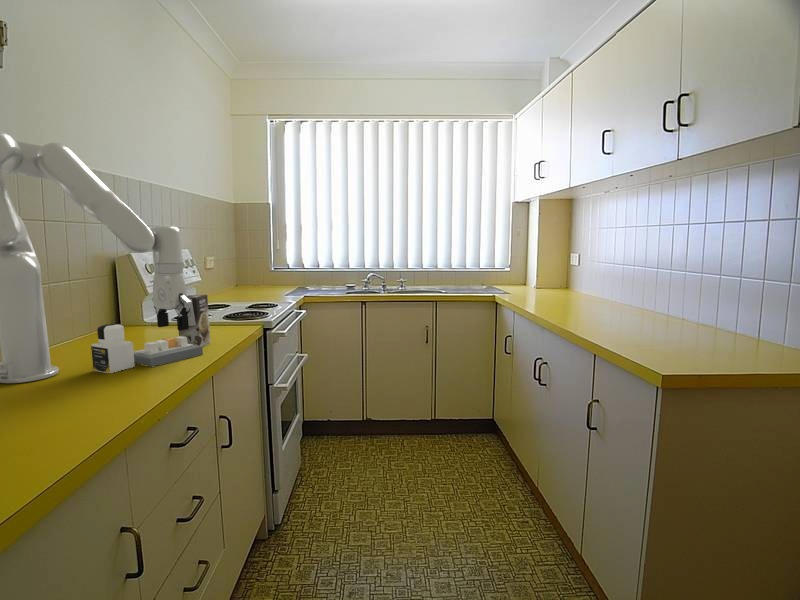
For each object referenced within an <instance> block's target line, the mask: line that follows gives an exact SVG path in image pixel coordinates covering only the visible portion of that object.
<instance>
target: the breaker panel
mask: <svg viewBox="0 0 800 600" xmlns="http://www.w3.org/2000/svg"><path fill="white" fill-rule="evenodd" d="M133 352H134V363H138V364H137V365H139V364H143V365H147V366H150V367H149V368H152V367H151V366H155V367H157V366H156V365H159V366H162V364H163V365H166V363H167V364H170V363H174V362H179V361H183V360H186V359H191V358H194V357H198V356H203V355H204V351H203V347H202V346H197V345H193V344H187V337H183V336H179V335H178V336H174V337H165V338H162V339H160V340H155V341H150V342H149V341H148V342H144V348H141V349H139V350H133ZM143 365H142V366H143ZM147 366H146V367H147Z"/></svg>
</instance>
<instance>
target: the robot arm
mask: <svg viewBox="0 0 800 600" xmlns="http://www.w3.org/2000/svg"><path fill="white" fill-rule="evenodd" d="M4 173H6V174H7V173H8V174H13V175H20V176H26V177H31V178H39V179H45V180H51V181H52V182H53V183H54V184H55V185H56V186H58V187H59V189H60V190H61V191H63V193H64V194H66V195H67V196H68V197H69V198H70V199H71V200H72V201H73V202H74V203H75V204H76V205H77V206H78V207H79V208H80V209H81V210H83V211H84V213H86V214H88V215H90V216H92V217H93V218H94V219H96V220H97V221H99V222H100V223H101V224H102V225H103V226H105V227H106V228H107V229H108V230H109V231H110V232H111V233H112V234H113V235H114V236H115V237H116V238H117V239H118V240H119V243H120V245H121V247H122V248H123V249H124V250H126V251H128V252H129V253H135V254H144V253H147V252H150V251H152V258H153V259H152V261H153V272H154V274H153V281H152V282H153V283H152V298H151V301H152V304H153V307H154V309H155V311H154V312H155V314H156V322H157V327H158V328H166V327H168V326H169V325H170V321H169V312H167V311H172V310H174V311H175V313H176V315H177V316H176V324H177V325H176V326H177V328H176V329H177V331H178V332H179V331H180V330H186V329H189V324H188V315H189V311H190V306H191V301H190V300H189V299H188V298H187V296H188V295H187V288H186V283H185V282H186V280H185V277H184V267H183V265H184V264H183V255H182V253H183V252H182V251H183V249H182V239H181V236H182V235H181V230H180V228H179V227H177V226H172V225H171V226H169V225H166V226H165V225H161V226H160V225H159V226H153V227H149V226H148V225H147V224H146V223H145V222H144V221H143V220H142V219H141V218H140V217H139V216H138V215H137V214H136V213H135V212H134V211H133V210H132V209H131V208H130V207H129V206H128V205H126V203H124V202H123V201H122V199H121V198H119V197H118V196H117V194H116V193H114V192H113V191H112V190H111V188H109V187H108V186H107V185H106V184H105V183H104V182H103V181H102V180H101V179H100V178H99V176H97V175H96V174H95V173H94V172H93V171H92V169H90V168H89V167H88V165H86V164H85V163H84V161H82V159H81V158H80V157H79V156H78V155H76V154H75V152H74V151H72V149H71V148H69V147H67V146H66V145H64V144H63V143H59V142H49V143H45V144H43V145H40V144H35V143H34V144H33V143H28V142H23V141H20V140H19V141H18V140H15V139H14V137H12V135H10V134H8V133H6V132H4V131H2V130H0V349H1V356H2V357H1V358H2V361H0V383H1V384H18V383H20V384H21V383H27V382H35V381H39V380H44V379H48V378H51V377H54V376H55V375H57V374H58V373H59V370H60V368H59V367H58V366H56V365H51V364H52V362H51V354H50V345H49V336H48V335H49V334H48V329H47V328H48V327H47V318H46V313H45V312H46V311H45V303H44V294H43V282H42V269H41V264H40V261H39V258H38V256H37V254H36V251H35V249H34V246H33V244H32V243H33V242H32V240H31V239H30V236H29V233H28V230H27V227H26V224H25V223H24V221H23V219H22V218H21V217H20V216H19V214H18V213H17V210H16V209H15V205H14V203H13V201H12V198H11V195H10V191H9V189H8V187H7V184H6V181H5V177H4ZM180 309H182V310H181V311H180Z"/></svg>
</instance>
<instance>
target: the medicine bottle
mask: <svg viewBox="0 0 800 600" xmlns="http://www.w3.org/2000/svg"><path fill="white" fill-rule="evenodd" d="M96 330H97V340H98V342H97V343H92V344H91V345H90V350H91V358H92V368H93V371H94V372H98V373H102V374H103V373H104V374H108V373H109V374H108V375H110V373H111V374H114V372H115V373H118V371H119V372H121V370H123V371H126V370H129V368H130V369H134V368H135V367H136V366H135V365H136V364H135V363H134V352H133V351H134V344H133V342H132V341H129V340H125V339H126V337H125V328H124V325H123V324H121V323H110V324H103V325H100V326H98V327H97V329H96ZM133 367H134V368H133ZM125 369H126V370H125Z"/></svg>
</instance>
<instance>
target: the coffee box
mask: <svg viewBox="0 0 800 600" xmlns="http://www.w3.org/2000/svg"><path fill="white" fill-rule="evenodd" d="M187 298H188V299H189V300H190V301H191V306H190V311H189V315H188V324H189V329H186V330H180V331H179V330H178V336H183V337H187V344H193V345H197V346H202V348H204V347H206V346H207V345H209V344H211V331H210V318H209V302H208V294H192V295H190V294H189V295H187ZM181 310H182V309H180V311H181Z"/></svg>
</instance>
